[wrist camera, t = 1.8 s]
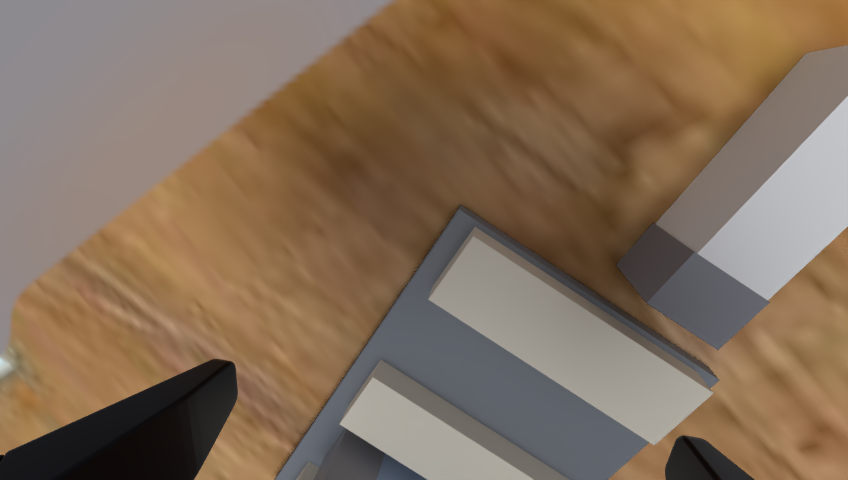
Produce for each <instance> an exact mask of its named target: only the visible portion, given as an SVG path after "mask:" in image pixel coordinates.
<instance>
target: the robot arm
mask: <svg viewBox="0 0 848 480" xmlns="http://www.w3.org/2000/svg"><path fill="white" fill-rule="evenodd" d="M237 395H238V389H237V378H236V368H235V364H234V363H233V362H231V361H227V360H221V359H212V360H210V361H208V362H206V363H203V364H201V365H199V366H197V367H194V368H192V369H190V370H188V371H186V372H183V373H181V374H179V375H177V376H174V377H172V378H170V379H168V380H166V381H163V382H161V383H159V384H157V385H155V386H152V387H150V388H148V389H146V390H143V391H141V392H139V393H137V394H135V395H132V396H130V397H128V398H126V399H123V400H121V401H119V402H117V403H115V404H112V405H110V406H108V407H106V408H104V409H101V410H99V411H97V412H95V413H92V414H90V415H88V416H86V417H84V418H81V419H79V420H77V421H75V422H72V423H70V424H68V425H66V426H64V427H61V428H59V429H57V430H55V431H52V432H50V433H48V434H46V435H44V436H41V437H39V438H37V439H35V440H32V441H30V442H28V443H26V444H24V445H21V446H19V447H17V448H15V449H12V450H10V451H8V452H7V453H6V454H5V456H4V455H0V480H194V479H195V477H196V475H197V474H198V472H199V470H200V469H201V467H202V465H203V463H204V461H205V460H206V458H207V456H208V454H209V452H210V450H211V448H212V446H213V445H214V443H215V441H216V439H217V437H218V435H219V433H220V431H221V429H222V428H223V426H224V424H225V422H226V420H227V418H228V416H229V414H230V413H231V411H232V409H233V407H234V405H235V403H236V400H237ZM665 477H666V480H754V479H753V478H752V477H751V476H749V475H748V474H747V473H746V472H744V471H743V470H742V469H741V468H739V467H738V466H737V465H736V464H734V463H733V462H732V461H731V460H729V459H728V458H727V457H726V456H724V455H723V454H722V453H721V452H719V451H718V450H717V449H716V448H714V447H713V446H712V445H711V444H710V443H708V442H707V441H706V440H704V439H701V438H696V437H690V436H679V437H678V438H677V439H676V441H675V444H674V446H673V449H672V451H671V454H670V457H669V459H668V462H667V464H666V468H665Z"/></svg>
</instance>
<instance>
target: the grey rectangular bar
mask: <svg viewBox="0 0 848 480" xmlns="http://www.w3.org/2000/svg"><path fill="white" fill-rule="evenodd" d="M314 480H427V479H426V478H424V477H422V476H421V475H419V474H418V473H416V472H414V471H413V470H411V469H410V468H408V467H407V466H405V465H403V464H402V463H400V462H399V461H397V460H395V459H394V458H392V457H391V456H389V455H387V454H386V453H384V452H383V451H381V450H380V449H378V448H376V447H375V446H373V445H372V444H370V443H368V442H367V441H365V440H364V439H362V438H360V437H359V436H357V435H356V434H354V433H353V432H351V431H349V430H348V429H346V428H345V430H344V431H343V432H342V434H341V435H340V436H339V438H338V439H337V441H336V442H335V443H334V445H333V446H332V448H331V449H330V450H329V452H328V453H327V454H326V456H325V457H324V459H323V461H322V463H321V465H320V467H319V470H318V472H317V474H316V476H315V478H314Z"/></svg>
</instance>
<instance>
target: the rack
mask: <svg viewBox="0 0 848 480" xmlns="http://www.w3.org/2000/svg"><path fill="white" fill-rule="evenodd" d="M718 381H719V379H718V378H717V377H716V375H715V374H714V373H713V372H712V371H711V369H710V368H709V367H708V366H706V365H705V364H703V363H701V362H700V361H698V360H697V359H695V358H694V357H692V356H691V355H689V354H688V353H686V352H685V351H683V350H682V349H680V348H679V347H677V346H676V345H674V344H672V343H671V342H669V341H668V340H666V339H665V338H663V337H662V336H660V335H659V334H657V333H656V332H654V331H653V330H651V329H650V328H648V327H647V326H645V325H644V324H642V323H640V322H639V321H637V320H636V319H634V318H633V317H631V316H630V315H628V314H627V313H625V312H624V311H622V310H621V309H619V308H618V307H616V306H615V305H613V304H612V303H610V302H608V301H607V300H605V299H604V298H602V297H601V296H599V295H598V294H596V293H595V292H593V291H592V290H590V289H589V288H587V287H586V286H584V285H583V284H581V283H579V282H578V281H576V280H575V279H573V278H572V277H570V276H569V275H567V274H566V273H564V272H563V271H561V270H560V269H558V268H557V267H555V266H554V265H552V264H551V263H549V262H547V261H546V260H544V259H543V258H541V257H540V256H538V255H537V254H535V253H534V252H532V251H531V250H529V249H528V248H526V247H525V246H523V245H522V244H520V243H518V242H517V241H515V240H514V239H512V238H511V237H509V236H508V235H506V234H505V233H503V232H502V231H500V230H499V229H497V228H496V227H494V226H493V225H491V224H490V223H488V222H486V221H485V220H483V219H482V218H480V217H479V216H477V215H476V214H474V213H473V212H471V211H470V210H468V209H467V208H465V207H464V206H462V205H460V207H459V208H458V210H457V211H456V212H455V214H454V215H453V217H452V218H451V220H450V221H449V223H448V224H447V226H446V227H445V229H444V230H443V232H442V233H441V235H440V236H439V238H438V239H437V240H436V242H435V243H434V245H433V246H432V248H431V249H430V251H429V252H428V254H427V255H426V257H425V258H424V260H423V261H422V263H421V264H420V266H419V267H418V268H417V270H416V271H415V273H414V274H413V276H412V277H411V279H410V280H409V282H408V283H407V285H406V286H405V288H404V289H403V291H402V292H401V293H400V295H399V296H398V298H397V299H396V301H395V302H394V304H393V305H392V307H391V308H390V310H389V311H388V313H387V314H386V316H385V317H384V319H383V320H382V321H381V323H380V324H379V326H378V327H377V329H376V330H375V332H374V333H373V335H372V336H371V338H370V339H369V341H368V342H367V344H366V345H365V347H364V348H363V349H362V351H361V352H360V354H359V355H358V357H357V358H356V360H355V361H354V363H353V364H352V366H351V367H350V369H349V370H348V372H347V373H346V375H345V376H344V377H343V379H342V380H341V382H340V383H339V385H338V386H337V388H336V389H335V391H334V392H333V394H332V395H331V397H330V398H329V400H328V401H327V402H326V404H325V405H324V407H323V408H322V410H321V411H320V413H319V414H318V416H317V417H316V419H315V420H314V422H313V423H312V425H311V426H310V428H309V429H308V430H307V432H306V433H305V435H304V436H303V438H302V439H301V441H300V442H299V444H298V445H297V447H296V448H295V450H294V451H293V453H292V454H291V456H290V457H289V458H288V460H287V461H286V463H285V464H284V466H283V467H282V469H281V470H280V472H279V473H278V475H277V476H276V478H275V479H274V480H314V478H315V476H316V474H317V472H318V470H319V467H320V465H321V463H322V461H323V459H324V457H325V456H326V454H327V453H328V452H329V450H330V449H331V448H332V446H333V445H334V443H335V442H336V441H337V439H338V438H339V436H340V435H341V434H342V432H343V431H344V430H345V428H346V429H348V430H349V431H351V432H353V433H354V434H356V435H357V436H359V437H360V438H362V439H364V440H365V441H367V442H368V443H370V444H372V445H373V446H375V447H376V448H378V449H380V450H381V451H383V452H384V453H386V454H387V455H389V456H391V457H392V458H394V459H395V460H397V461H399V462H400V463H402V464H403V465H405V466H407V467H408V468H410V469H411V470H413V471H414V472H416V473H418V474H419V475H421V476H422V477H424V478H426V479H427V480H608V479H609V478H610V477H611V476H612V475H613V474H614V473H615V472H617V471H618V470H619V469H620V468H621V467H622V466H623V465H624V464H626V463H627V462H628V461H629V460H630V459H631V458H632V457H633V456H635V455H636V454H637V453H638V452H639V451H640V450H641V449H642V448H644V447H645V446H646V445H647V444H648V443H649V442H650V443H651V444H653V445H655V444H657V443H658V442H659V441H660V440H661V439H662V438H663V437H665V436H666V435H667V434H668V433H669V432H670V431H671V430H672V429H674V428H675V427H676V426H677V425H678V424H679V423H680V422H682V421H683V420H684V419H685V418H686V417H687V416H688V415H689V414H691V413H692V412H693V411H694V410H695V409H696V408H697V407H699V406H700V405H701V404H702V403H703V402H704V401H705V400H707V399H708V398H709V397H710V396H711V395H712V394H713V392H712V390H711V389H710V388H711V387H712V386H713V385H714V384H715V383H717V382H718Z"/></svg>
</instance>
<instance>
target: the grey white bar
mask: <svg viewBox="0 0 848 480" xmlns="http://www.w3.org/2000/svg"><path fill="white" fill-rule="evenodd" d="M846 227H848V45H846V46H841V47H836V48H830V49H825V50H819V51H814V52H808V53H806V54H805V55H804V56H803V57H802V58H801V60H800V61H799V62H798V63H797V64H796V65H795V66H794V67H793V69H792V70H791V71H790V72H789V73H788V74H787V75H786V77H785V78H784V79H783V80H782V81H781V82H780V83H779V84H778V86H777V87H776V88H775V89H774V90H773V91H772V92H771V93H770V95H769V96H768V97H767V98H766V99H765V100H764V101H763V103H762V104H761V105H760V106H759V107H758V108H757V109H756V110H755V112H754V113H753V114H752V115H751V116H750V117H749V118H748V119H747V121H746V122H745V123H744V124H743V125H742V126H741V127H740V128H739V130H738V131H737V132H736V133H735V134H734V135H733V136H732V138H731V139H730V140H729V141H728V142H727V143H726V144H725V145H724V147H723V148H722V149H721V150H720V151H719V152H718V153H717V154H716V156H715V157H714V158H713V159H712V160H711V161H710V162H709V164H708V165H707V166H706V167H705V168H704V169H703V170H702V171H701V173H700V174H699V175H698V176H697V177H696V178H695V179H694V180H693V182H692V183H691V184H690V185H689V186H688V187H687V188H686V189H685V191H684V192H683V193H682V194H681V195H680V196H679V197H678V199H677V200H676V201H675V202H674V203H673V204H672V205H671V206H670V208H669V209H668V210H667V211H666V212H665V213H664V214H663V215H662V217H661V218H660V219H659V220H658V221H657V222H656V223H655V224H654V223H652V225H651V226H650V227H649V228H648V229H647V230H646V231H645V232H644V234H643V235H642V236H641V237H640V238H639V239H638V240H637V242H636V243H635V244H634V245H633V246H632V247H631V248H630V249H629V251H628V252H627V253H626V254H625V255H624V256H623V257H622V259H621V260H620V261H619V262H618V263H617V264H616V266H617V267H618V268H619V269H620V271H621V272H622V273H623V274H624V276H625V277H626V278H627V279H628V281H629V282H630V283H631V284H632V286H633V287H634V288H635V289H636V291H637V292H638V293H639V294H640V296H641V297H642V298H643V299H644V301H645V302H646V303H647V304H649V305H650V306H652V307H653V308H655V309H656V310H658V311H659V312H661V313H662V314H664V315H665V316H667V317H668V318H670V319H671V320H673V321H674V322H676V323H677V324H679V325H680V326H682V327H684V328H685V329H687V330H688V331H690V332H691V333H693V334H694V335H696V336H697V337H699V338H700V339H702V340H703V341H705V342H706V343H708V344H709V345H711V346H712V347H714V348H715V349H717V350H719V349H720V348H721V347H722V346H723V345H724V344H725V343H726V342H727V341H728V340H730V339H731V338H732V337H733V336H734V335H735V334H736V333H737V332H738V331H739V330H740V329H741V328H743V327H744V326H745V325H746V324H747V323H748V322H749V321H750V320H751V319H752V318H753V317H754V316H756V315H757V314H758V313H759V312H760V311H761V310H762V309H763V308H764V307H765V306H766V305H767V304H768V303H770V302H769V301H768V300H769V299H770V298H771V297H772V296H773V295H774V294H775V293H776V292H777V291H779V290H780V289H781V288H782V287H783V286H784V285H785V284H786V283H787V282H788V281H789V280H790V279H791V278H793V277H794V276H795V275H796V274H797V273H798V272H799V271H800V270H801V269H802V268H803V267H804V266H805V265H807V264H808V263H809V262H810V261H811V260H812V259H813V258H814V257H815V256H816V255H817V254H818V253H819V252H821V251H822V250H823V249H824V248H825V247H826V246H827V245H828V244H829V243H830V242H831V241H832V240H834V239H835V238H836V237H837V236H838V235H839V234H840V233H841V232H842V231H843V230H844V229H845V228H846Z"/></svg>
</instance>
